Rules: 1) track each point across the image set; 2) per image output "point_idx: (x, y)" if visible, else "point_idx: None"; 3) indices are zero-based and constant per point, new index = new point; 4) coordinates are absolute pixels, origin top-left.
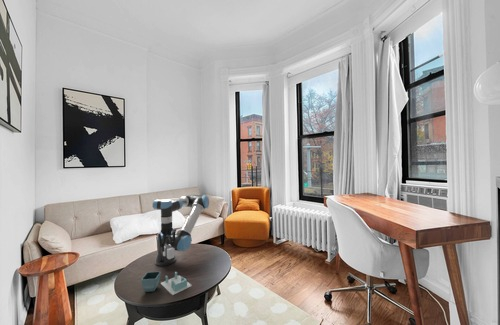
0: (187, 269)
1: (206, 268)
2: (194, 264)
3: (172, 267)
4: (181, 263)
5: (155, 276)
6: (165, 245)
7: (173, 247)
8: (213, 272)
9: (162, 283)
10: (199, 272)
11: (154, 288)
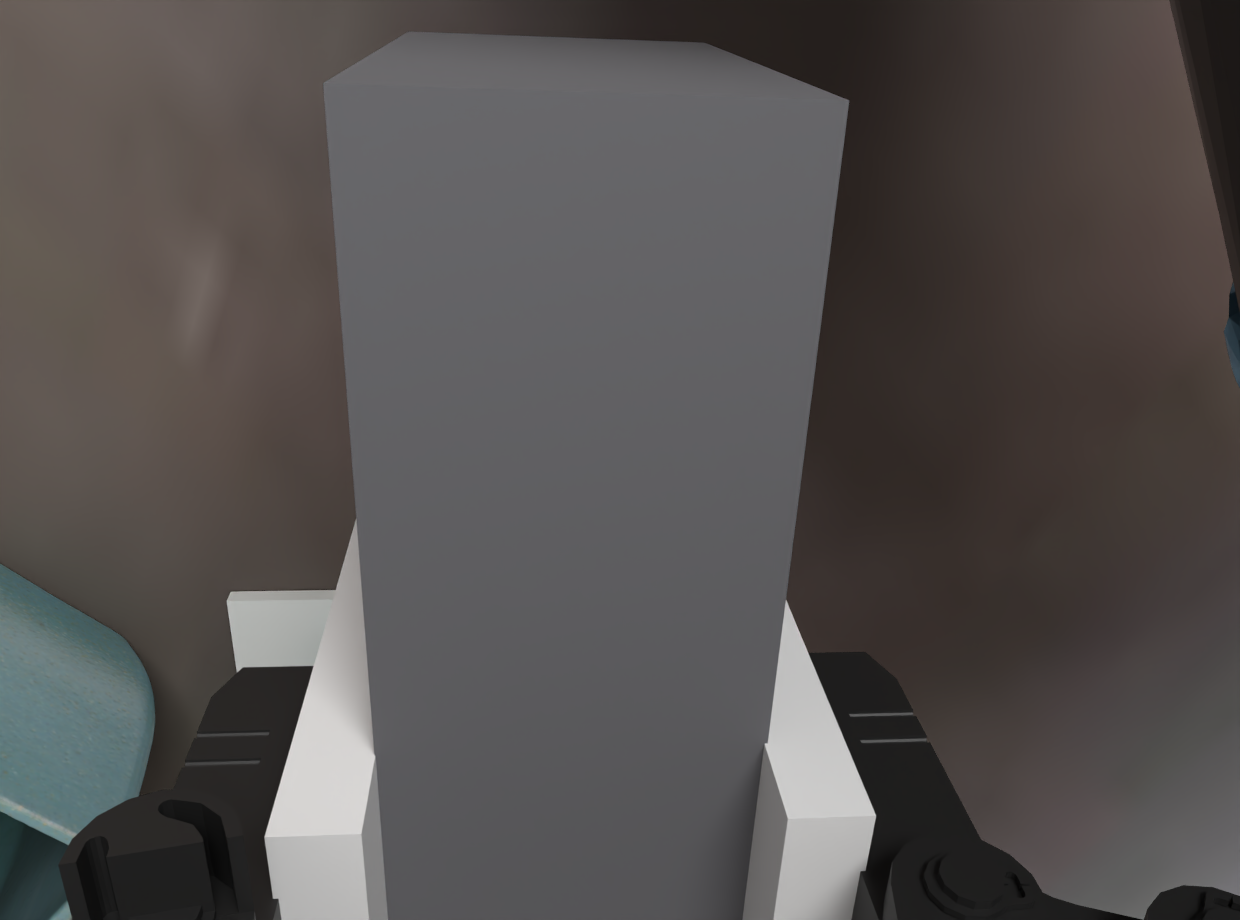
0: (964, 475)
1: (1211, 712)
2: (1230, 388)
3: (794, 73)
4: (1100, 53)
5: (31, 717)
6: (611, 557)
7: (1210, 155)
8: (1156, 890)
9: (256, 640)
10: (1020, 741)
11: (5, 838)
